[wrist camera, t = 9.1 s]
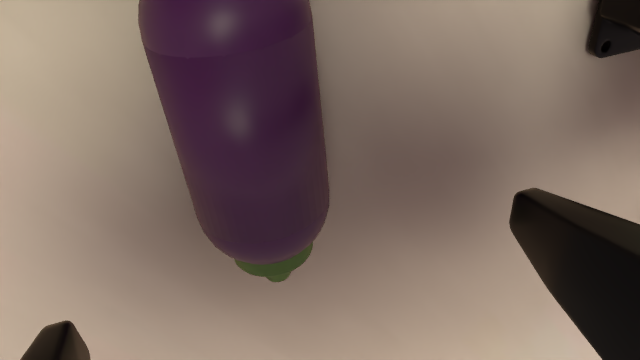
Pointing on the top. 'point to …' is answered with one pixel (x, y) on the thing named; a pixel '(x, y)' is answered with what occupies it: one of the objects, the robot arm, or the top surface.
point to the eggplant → (244, 122)
